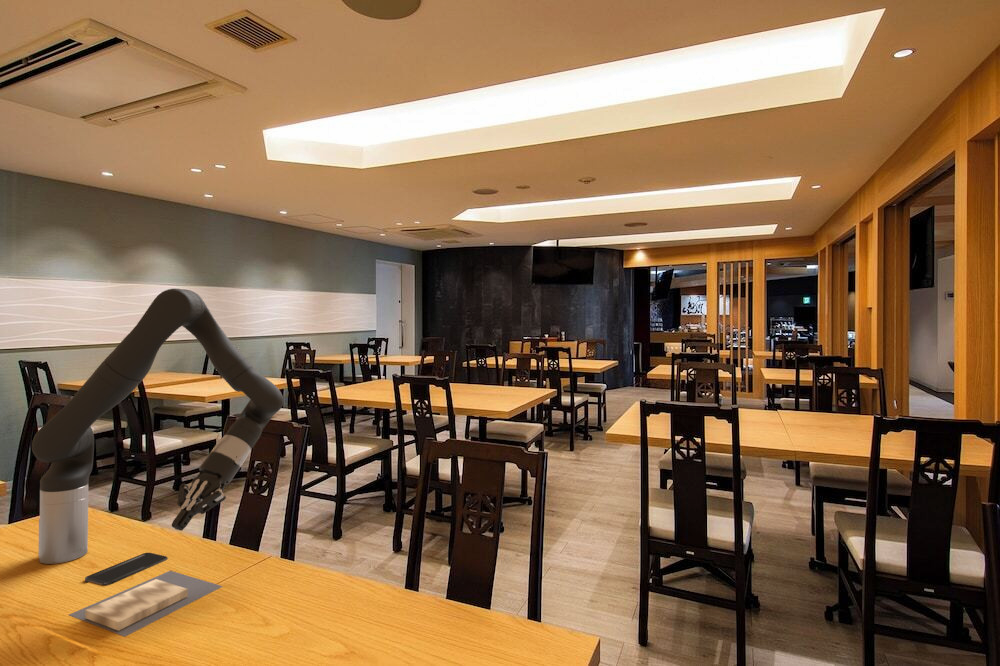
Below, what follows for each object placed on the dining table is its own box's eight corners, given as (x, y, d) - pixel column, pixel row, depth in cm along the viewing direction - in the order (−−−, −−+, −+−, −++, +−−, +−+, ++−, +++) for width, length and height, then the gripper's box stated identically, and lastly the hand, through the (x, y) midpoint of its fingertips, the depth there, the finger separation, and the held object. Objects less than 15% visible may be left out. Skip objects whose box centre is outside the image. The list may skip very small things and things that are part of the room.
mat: (68, 616, 106) (68, 614, 106) (170, 572, 125) (170, 570, 125) (124, 638, 99) (124, 636, 99) (223, 588, 118) (223, 586, 118)
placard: (155, 587, 117) (85, 619, 104) (155, 579, 117) (85, 609, 104) (187, 597, 113) (118, 631, 100) (187, 588, 113) (118, 622, 100)
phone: (82, 578, 120) (147, 551, 134) (82, 583, 120) (147, 556, 134) (106, 584, 117) (170, 557, 131) (106, 589, 117) (170, 561, 131)
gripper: (196, 447, 127) (143, 515, 116) (237, 453, 122) (186, 526, 111) (215, 464, 132) (167, 530, 121) (255, 471, 127) (208, 541, 116)
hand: (176, 528), depth 116 cm, fingers closed
